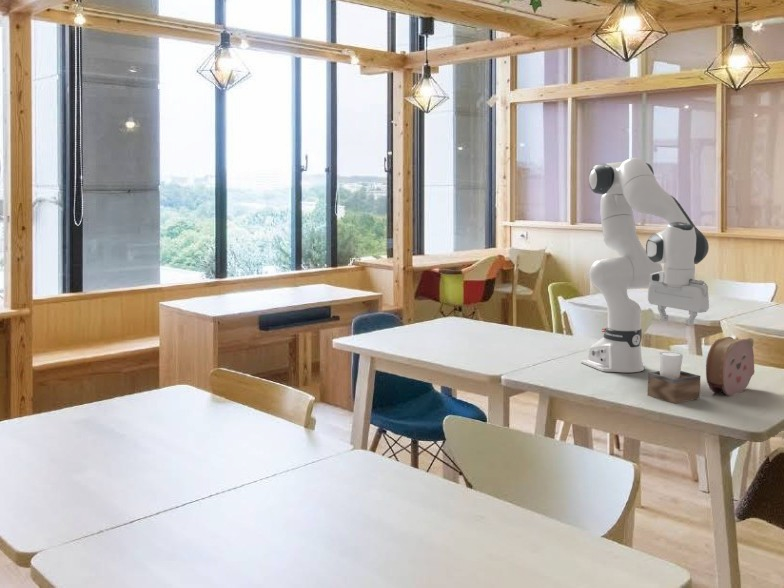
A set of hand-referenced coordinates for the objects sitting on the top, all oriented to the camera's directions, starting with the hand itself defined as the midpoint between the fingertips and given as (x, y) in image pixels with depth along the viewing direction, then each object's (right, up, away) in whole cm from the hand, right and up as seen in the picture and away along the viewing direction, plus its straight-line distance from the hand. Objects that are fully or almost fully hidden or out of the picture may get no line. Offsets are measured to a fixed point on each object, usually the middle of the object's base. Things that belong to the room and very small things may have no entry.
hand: (676, 323), depth 243 cm
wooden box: (0, -23, +3) cm, 23 cm away
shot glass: (-1, -17, +4) cm, 17 cm away
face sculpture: (+20, -22, +9) cm, 31 cm away
